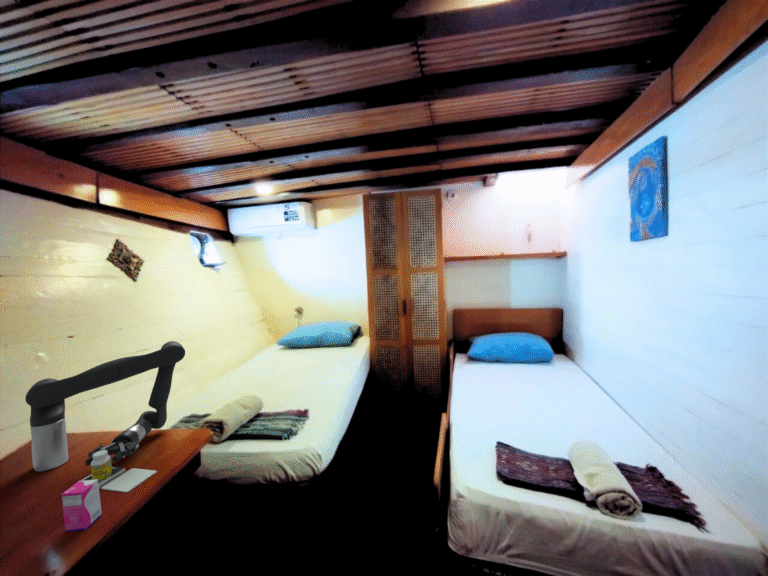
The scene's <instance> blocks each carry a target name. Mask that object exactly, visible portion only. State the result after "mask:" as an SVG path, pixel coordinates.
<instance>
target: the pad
mask: <svg viewBox="0 0 768 576" xmlns="http://www.w3.org/2000/svg"><path fill="white" fill-rule="evenodd" d="M157 473H158V471H157V470H155V469H154V470H153V469H143V468H136V467H135V468H134V467H133V468H130V469H129V470H127V471H125V473H123V474H121V475H120V476H118V477H117V478H115V479H114V480H112V481H110V482H109V483H107V484H106V485H104V486H102V487H101V488H100V490H105V491H112V492H119V493H120V492H121V493H127V494H128V493H129V492H130V491H132V490H133V489H134V488H136V487H138V486H139V485H141V484H142V483H143V482H146V481H147V480H148V479H150V477H152V476H153V475H155V474H157Z"/></svg>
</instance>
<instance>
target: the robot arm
mask: <svg viewBox="0 0 768 576" xmlns="http://www.w3.org/2000/svg"><path fill="white" fill-rule="evenodd" d="M185 356H186V350H185V348H184V346H183V345H182V344H181V343H180V342H179V341H176V340H171V341H167V342H165V343H164V344H163V345H162V346H161V347H160V349H157V350H155V351H152V352H149V353H145V354H141V355H130V356H124V357H120V358H117V359H113V360H110V361H106V362H103V363H100V364H98V365H95V366H94V367H91V368H89V369H87V370H85V371H83V372H79V374H76V375H73V376H69V377H67V378H66V377H65V378H62V379H56V378H52V377H51V378H44V379H41V380H38V381H37V382H35V383H33V385H32V386H30V388H29V389H28V390H27V392H26V395H25V403H26V404H27V405H29V406H30V417H29V425H30V435H31V436H30V437H31V445H30V449H31V457H32V458H31V459H32V460H31V461H32V468H33V469H34V471H35V472H44V471H48V470H49V471H50V470H52V469H55V468H57V467H60V466H62V465H63V464H65V463H67V462H68V461H69V451H68V450H69V449H68V448H69V447H68V436H67V426H66V414H65V413H66V401H65V400H66V399H69V398H71V397H73V396H76V395H79V394H82V393H85V392H88V391H91V390H94V389H99V388H103V387H104V386H107V385H112V384H115V383H118V382H121V381H123V380H126V379H128V378H131V377H135V376H137V375H140V374H142V373H146V372H148V371H151V370H153V369H158V370H157V373H156V377H155V380H154V384H153V385H152V386H153V387H152V389H151V392H150V395H149V400H148V406H149V407H150V408H151V409H154V410H155V411H153V410H146V411H144V412H142V413H141V414H140V416H139V418H138V420H137V421H136V422H134V424H133V425H131V426H129V427H128V428H126V429H125V430H123V431H122V432H121V433H119V434H118V435H117V436H116V437H114V438H113V439H112V442H111V443H110V444H108V445H106V446H104V445H103V444H100V445H98V446H97V447H95V448H94V449H92V450H91V451H89V452H88V453H87V457H88V458H86V459H85V460H84V463H85V466H86V467H87V466H88V467H89V466H91V462H92V461H93V454H95V453H96V452H99V451H102V450H107V451H108V455H109V456H112V458H111V462H112V464H115V463H117V462H119V461H120V460H121V459H122V458H125V457H126V456H128V457H129V456H132V455H133V454H134V453H135V452H136V451H137V450H138V449H139V448H140V446H139V443H141V441H142V440H143V439H144V438H145V437H146V436H147V435H148V434H150V432H151V431H152V429H153V430H160V429H161V428H163V427H164V426H165V424H166V423H167V419H168V413H167V411H168V410H167V408H168V407H167V404H168V399H169V396H170V393H171V388H172V384H173V383H172V382H173V376H174V375H173V373H174V370H175V367H176V364H177V363H179V362H180V361H182V360H183V359H184V357H185Z"/></svg>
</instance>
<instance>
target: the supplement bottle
mask: <svg viewBox="0 0 768 576" xmlns="http://www.w3.org/2000/svg"><path fill="white" fill-rule="evenodd" d="M112 467H113V466H112V458H111V455H108V451H107V450H102V451H99V452H96V453H95V454H93V461H92V462H91V464H90V469H91V470H90V471H91V474H92V480H95V479H98V482H101V481H102V480H104V479H105V478H107V477H109V476H110V475H112V474H113V473H112Z"/></svg>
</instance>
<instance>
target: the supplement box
mask: <svg viewBox="0 0 768 576" xmlns="http://www.w3.org/2000/svg"><path fill="white" fill-rule="evenodd" d="M60 497H61V506H62V512H63V522H64V529H65V530H64V531H65V532H66V533H67V532H77V531H87V530H88V529H89V528H90V527H91V526H92V525H93V524H94V523H95V522H96V521H97V520H98V519H99V518H101V517H102V515H103V513H102V505H101V504H102V503H101V496H100V488H99V486H98V479H95V480H87V481H80V480H78V481H77V482H75V483H74V484H73V485H72V486H70V487H69V488H68V489H66V490H65V491H64V492H62V493H61V496H60Z"/></svg>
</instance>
